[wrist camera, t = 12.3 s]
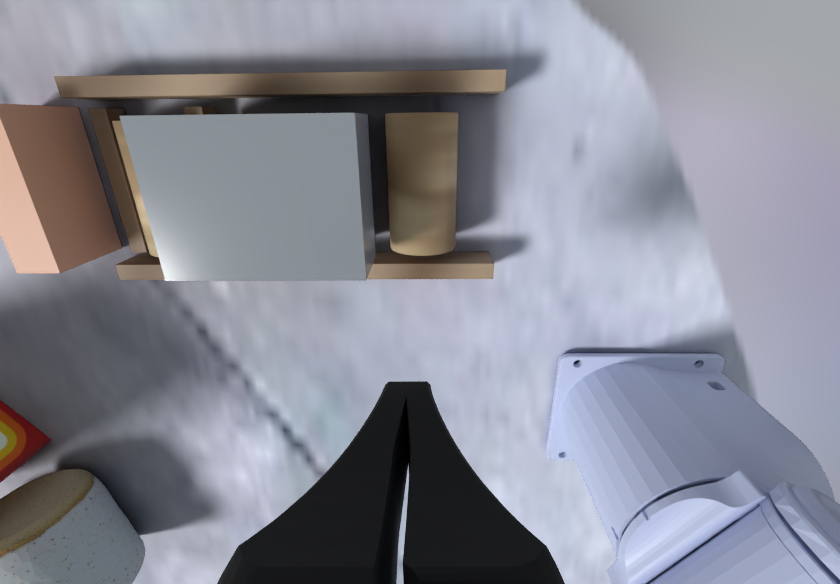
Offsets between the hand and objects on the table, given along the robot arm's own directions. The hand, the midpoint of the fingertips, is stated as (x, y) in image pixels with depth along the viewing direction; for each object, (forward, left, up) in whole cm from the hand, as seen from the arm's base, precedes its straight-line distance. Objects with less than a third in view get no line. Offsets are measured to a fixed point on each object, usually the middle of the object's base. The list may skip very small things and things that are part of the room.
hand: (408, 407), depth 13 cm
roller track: (+6, -6, -10) cm, 13 cm away
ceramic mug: (+25, +18, -11) cm, 33 cm away
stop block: (+17, -6, -10) cm, 21 cm away
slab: (+6, -6, -7) cm, 11 cm away
